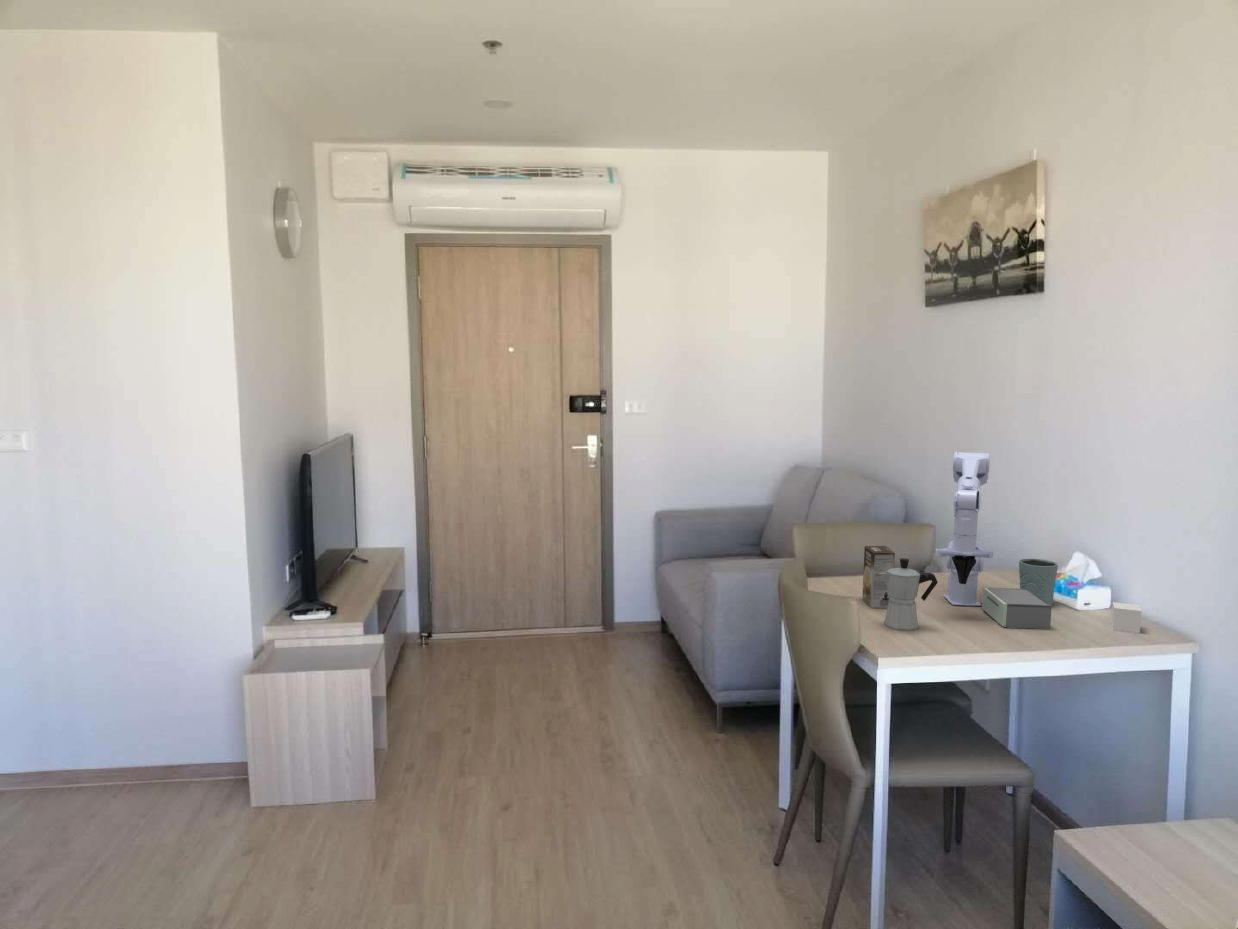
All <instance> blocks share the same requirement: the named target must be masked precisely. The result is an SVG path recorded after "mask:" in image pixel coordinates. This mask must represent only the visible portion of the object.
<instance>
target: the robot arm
mask: <svg viewBox="0 0 1238 929" xmlns="http://www.w3.org/2000/svg"><path fill="white" fill-rule="evenodd" d="M990 460H991V455H990V454H989V452H984V453H983V452H966V451H965V452H961V451H955V452H954V453H953V459H952V461H953V463H952V472H953V473H952V475H953V481H954V482H955V483H956V484H957V485H956V491H955V490H954V494H953V517H954V522H953V538H952V540H951V541H950V542H949V543H948V546H947V547H946V548H945V547H943V548H935V553H934V555H935V557H937V558H941V557H943V558H945V557H946V563H945V564H946V565H945V566H946V568H947V570H949V571H950V572H948V575H947V586H946V594H943V597H944V598H945V599H946V600H947V601H948V602H949V603H950V604H951V605H952V606H967V607H968V606H969V607H971V606H972V607H973V606H974V607H978V606H979V607H981V606H982V604H981V603H980V602H979V601H978V600H977V595H978V580H979V579H978V578H979V573H982V572H984V562H985V558H987V559H994V551H993V550H991V549H985V547H984V545H983V544H982V543H981V542H980V541H978V539H977V537H978V536H977V535H978V518H979V517H978V516H979V511H980V510H981V486H984V485H986V484H988V480H989V474H990V464H991V463H990Z"/></svg>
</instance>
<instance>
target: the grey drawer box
mask: <svg viewBox="0 0 1238 929" xmlns="http://www.w3.org/2000/svg"><path fill="white" fill-rule="evenodd" d="M986 588H987V589H988V590H990V591H991V592H992V593H993V594H995V595H996V596H997V597H999V598H1000V599H1001V600H1002V601H1004V602H1005V603H1006V604H1007V618H1006V627H1007V628H1006V627H1005V628H1006V629H1028V628H1036V630H1051V624H1052V623H1051V620H1052V606H1053V605H1052V606H1051V605H1050V604H1049V603H1047V602H1046V601H1044V600H1043V599H1041V598H1040V597H1038V596H1037V595H1035V594H1034V593H1033V592H1031V591H1030V590H1028V589H1020V588H999V587H986ZM1010 627H1012V628H1010Z"/></svg>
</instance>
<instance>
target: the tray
mask: <svg viewBox="0 0 1238 929" xmlns="http://www.w3.org/2000/svg"><path fill="white" fill-rule="evenodd" d="M987 588H988V587H983V588H982V604H981V606H982V608H981V609H982V610H983V611H984V612H985V613H986V614H987V615H989V616H990V617H991V618H992V619H994V621H995V622H996V623H998V624H999V625H1000V626H1001V627H1005V628H1006V618H1007V604H1006V603H1005V602H1004V601H1002V600H1001V599H1000V598H999V597H997V596H996V595H995V594H993V593H992V592H991V591H990V590H988V589H987Z"/></svg>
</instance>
